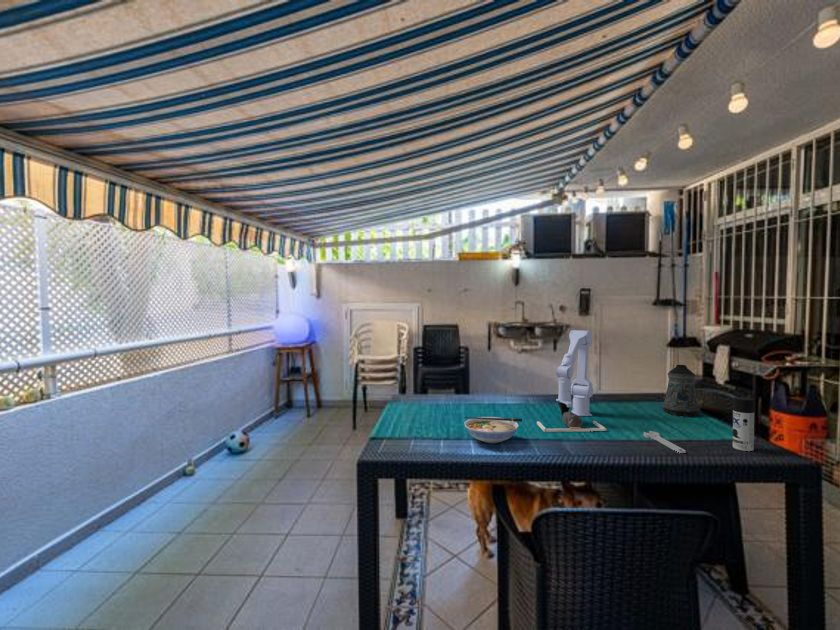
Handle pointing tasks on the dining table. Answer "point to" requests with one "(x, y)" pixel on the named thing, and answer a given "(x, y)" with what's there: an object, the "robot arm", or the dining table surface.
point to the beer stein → (681, 393)
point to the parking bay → (574, 428)
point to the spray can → (743, 424)
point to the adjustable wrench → (663, 441)
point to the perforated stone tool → (571, 420)
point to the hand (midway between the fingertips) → (564, 417)
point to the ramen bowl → (491, 428)
